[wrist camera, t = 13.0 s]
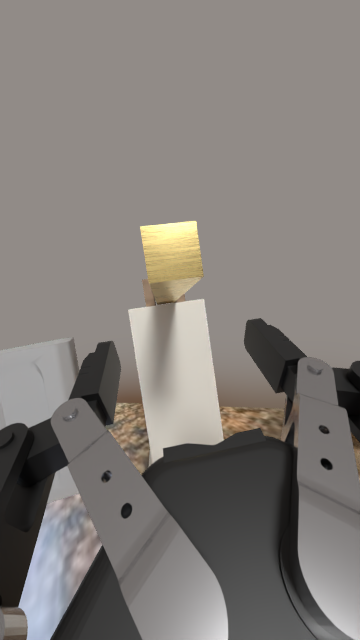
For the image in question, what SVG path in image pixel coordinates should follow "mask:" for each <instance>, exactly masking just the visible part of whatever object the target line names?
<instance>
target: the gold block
mask: <svg viewBox="0 0 360 640" xmlns="http://www.w3.org/2000/svg"><path fill="white" fill-rule="evenodd" d="M140 228H141V235H142V241H143V248H144V254H145V260H146V268H147V274H148V281H149V285H150V287H151V290H152V292H153V295H154V297H155V300H156V302H157V304H158V305H159V304H166V303H174V302H175V301H176V300H177V299H179V298H180V297H181V296H182V295H183V294H184V293H185V292H186V291H187V290H189V289H190V288H191V287H192V286H193V285H194V284H195V283H197V282H198V281H199V280H200V279H201V278H202V277H203V269H202V261H201V254H200V247H199V240H198V232H197V225H196V221H190V222H182V223H172V224H161V225H152V226H143V227H140Z"/></svg>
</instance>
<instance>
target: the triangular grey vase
mask: <svg viewBox="0 0 360 640" xmlns="http://www.w3.org/2000/svg"><path fill="white" fill-rule="evenodd" d="M78 373H79V367H78V361H77V355H76V350H75V344H74V338H73V337H72V338H63V339H57V340H52V341H47V342H42V343H37V344H32V345H27V346H21V347H16V348H11V349H6V350H1V351H0V430H1V429H3V428H5V427H6V426H8V425H11V424H14V423H23V424H25V425H26V426H27V427H28V428H29V427H32V426H34V425H36V424H38V423H41V422H43V421H45V420H47V419H49V418H51V417H52V415H53V413H54V412H55V410H56V409H57V408H58V407H59V406H60V405H61V404H63V403H64V402H66V401H68V400H69V397H70V394H71V392H72V389H73V386H74V384H75V381H76V379H77V376H78ZM76 494H79V491H78V489H77V487H76V485H75V483H74V480H73V478H72V476H71V474H70V471H69V469H68V466H66V467H64V468H62V469H60V470H59V471H57V472H56V473H55V476H54V480H53V483H52V487H51V491H50V494H49V498H48V501H47V504H48V503H51V502H54V501H57V500H61V499H64V498H67V497H70V496H73V495H76Z"/></svg>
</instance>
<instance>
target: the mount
mask: <svg viewBox="0 0 360 640" xmlns="http://www.w3.org/2000/svg"><path fill="white" fill-rule="evenodd" d="M142 282H143V288H144V295H145V301H146V307H143V308H136V309H129V310H128V312H129V318H130V324H131V331H132V337H133V343H134V350H135V356H136V362H137V369H138V375H139V381H140V388H141V393H142V400H143V407H144V413H145V419H146V426H147V432H148V438H149V445H150V455H149V466H150V465H151V464H153V463H154V462H155V461H157V460H158V459H159V458H161V457H163V448H167V447H172V446H176V445H181V444H186V443H192V444H205V445H216V444H218V443H220V442H221V441H223V440H224V439H223V432H222V425H221V418H220V410H219V404H218V396H217V389H216V382H215V375H214V368H213V361H212V354H211V346H210V339H209V332H208V325H207V318H206V311H205V304H204V299H200V300H192V301H185V295H184V294H183V295H182V296H181V297H180V298H179V299H177V300H176V301H175V302H174V303H171V304H164V305H157V306H156V302H155V297H154V295H153V292H152V290H151V287H150V285H149V281H148V279H144V280H142Z"/></svg>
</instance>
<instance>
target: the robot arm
mask: <svg viewBox="0 0 360 640" xmlns="http://www.w3.org/2000/svg"><path fill="white" fill-rule="evenodd" d="M244 344H245V348H246V350H247V351H248V353H249V354H250V356H251V357H252V359H253V360H254V362H255V363H256V365H257V366H258V368H259V369H260V371H261V372H262V373H263V375H264V376H265V378H266V379H267V381H268V382H269V384H270V385H271V387H272V388H273V390H274V391H275V393H280V392H285V393H286V395H287V396H286V401H285V410H284V420H283V429H282V435H281V439H280V440H279V439H276V438H273V437H268V436H264V435H263V433H262V431H261V429H260V428H258V429H253V430H249V431H244V432H239V433H236V434H234V435H232V436H231V437H229V438H227V439H225V440H223V441H221V442H220V443H218V444H216V445H205V444H192V443H186V444H181V445H176V446H172V447H167V448H163V457H161V458H159V459H158V460H157V461H155V462H154V463H153V464H151V465H150V466H149V467H148V468H147V469H146V470H145V472H144V473H143V474H142V475H141V474H140V473H139V472H138V470H137V469H136V467H135V466H134V465H133V463H132V462H131V461H130V459H129V458H128V456H127V455H126V454H125V452H124V451H123V450H122V448H121V447H120V445H119V444H118V443H117V441H116V440H115V438H114V437H113V436H112V434H111V433H110V432H109V431H108V430H106V428H105V426H106V425H110V424H113V421H114V414H115V407H116V400H117V393H118V386H119V379H120V372H121V366H120V360H119V357H118V354H117V351H116V348H115V345H114V342H113V341H108V342H101V343H98V345H97V348H96V351H95V352H94V353H90V354H89V355H88V356H87V357H86V358H85V359H84V360H83V363H82V366H81V369H80V371H79V373H78V376H77V379H76V381H75V384H74V386H73V389H72V392H71V394H70V397H69V400H68V401H66V402H64V403H63V404H61V405H60V406H59V407H58V408H57V409H56V410H55V412H54V413H53V415H52V417H51V418H49V419H47V420H45V421H43V422H41V423H38V424H36V425H34V426H32V427H29V428H28V427H27V426H26V425H25V424H23V423H14V424H11V425H8V426H6V427H5V428H3V429H1V430H0V640H26V639H27V629H28V626H27V618H26V615H25V613H24V611H23V610H22V609H20V608H18V606H19V602H20V599H21V595H22V591H23V588H24V584H25V581H26V577H27V573H28V570H29V566H30V563H31V559H32V555H33V552H34V548H35V545H36V541H37V537H38V534H39V530H40V527H41V523H42V519H43V516H44V512H45V509H46V505H47V501H48V498H49V494H50V491H51V487H52V483H53V480H54V476H55V473H56V472H57V471H59V470H60V469H62V468H64V467H66V466H68V469H69V471H70V474H71V476H72V478H73V480H74V483H75V485H76V487H77V489H78V491H79V494H80V496H81V498H82V500H83V502H84V505H85V507H86V509H87V511H88V513H89V516H90V518H91V520H92V522H93V524H94V527H95V529H96V531H97V533H98V535H99V538H100V540H101V542H102V544H103V545H102V546H101V548H100V550H99V552H98V554H97V555H96V557H95V559H94V561H93V563H92V565H91V566H90V568H89V570H88V572H87V574H86V575H85V577H84V579H83V581H82V583H81V584H80V586H79V588H78V590H77V592H76V594H75V595H74V597H73V599H72V601H71V603H70V604H69V606H68V608H67V610H66V612H65V614H64V615H63V617H62V619H61V621H60V623H59V624H58V626H57V628H56V630H55V632H54V634H53V635H52V637H51V639H50V640H360V483H359V477H358V471H357V466H356V460H355V454H354V449H353V443H352V437H351V432H352V434H353V435H354V436H355V437H356V438H357V440H358V441H359V442H360V361H356V362H353V363H352V365H351V367H350V369H342V368H331V367H330V366H329V365H328V364H327V363H325V362H323V361H322V360H319V359H317V358H312V357H307V356H306V355H305V354H304V353H303V352H302V351H301V350H300V349H299V348H298V347H297V346H296V345H294V344H293V343H292V342H291V341H289V339H288V338H287V337H286V336H284V334H283V333H282V332H281V331H280V330H279V329H277V328H275V327H273V326H271V325H267V324H266V323H265V322H264V321H263V320H262V319H261V318H259V319H253V320H248V321H247V323H246V330H245V338H244ZM350 431H351V432H350Z"/></svg>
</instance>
